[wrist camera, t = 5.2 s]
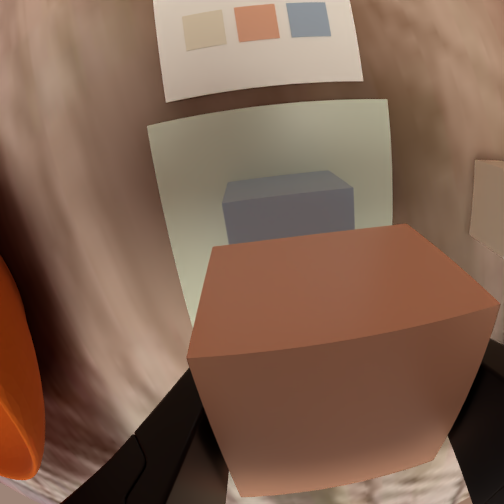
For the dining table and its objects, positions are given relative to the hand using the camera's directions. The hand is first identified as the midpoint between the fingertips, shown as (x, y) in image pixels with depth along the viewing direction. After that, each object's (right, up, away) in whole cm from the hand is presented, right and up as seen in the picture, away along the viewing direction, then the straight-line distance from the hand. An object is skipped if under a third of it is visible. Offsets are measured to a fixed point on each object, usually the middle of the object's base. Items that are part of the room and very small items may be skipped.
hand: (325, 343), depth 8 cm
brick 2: (+15, +6, +9) cm, 18 cm away
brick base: (0, +4, +9) cm, 9 cm away
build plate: (0, +4, +9) cm, 10 cm away
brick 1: (0, +1, +1) cm, 1 cm away
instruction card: (-2, +14, +5) cm, 15 cm away
